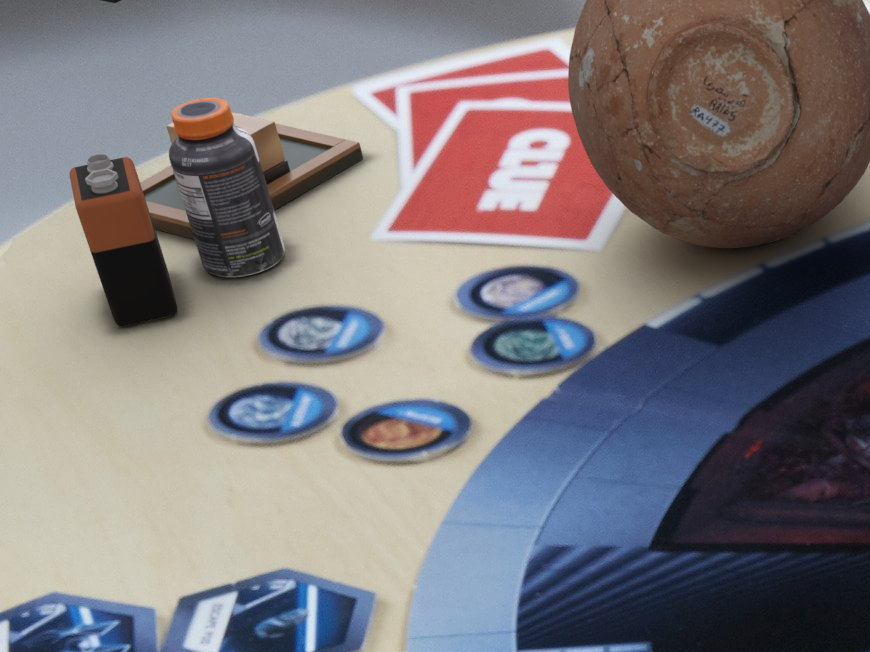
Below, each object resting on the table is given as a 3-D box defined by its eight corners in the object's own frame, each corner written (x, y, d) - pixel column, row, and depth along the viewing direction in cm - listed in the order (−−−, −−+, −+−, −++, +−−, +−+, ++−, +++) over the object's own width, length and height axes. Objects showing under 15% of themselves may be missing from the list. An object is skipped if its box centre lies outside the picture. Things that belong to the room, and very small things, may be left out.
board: (215, 244, 175) (210, 228, 174) (110, 217, 179) (104, 201, 179) (363, 158, 185) (359, 142, 184) (260, 134, 189) (256, 118, 188)
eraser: (251, 195, 178) (236, 143, 176) (179, 177, 182) (163, 125, 179) (291, 172, 181) (276, 120, 178) (219, 155, 184) (204, 104, 181)
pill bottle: (292, 239, 175) (249, 85, 167) (279, 276, 170) (235, 120, 163) (211, 246, 175) (164, 93, 167) (196, 283, 170) (148, 128, 163)
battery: (116, 330, 166) (69, 192, 159) (108, 289, 171) (62, 153, 164) (180, 317, 167) (136, 179, 160) (170, 276, 171) (127, 141, 165)
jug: (500, 175, 156) (549, 115, 183) (795, 334, 162) (801, 253, 188) (642, -147, 148) (672, -161, 175) (948, 33, 154) (932, -7, 180)
